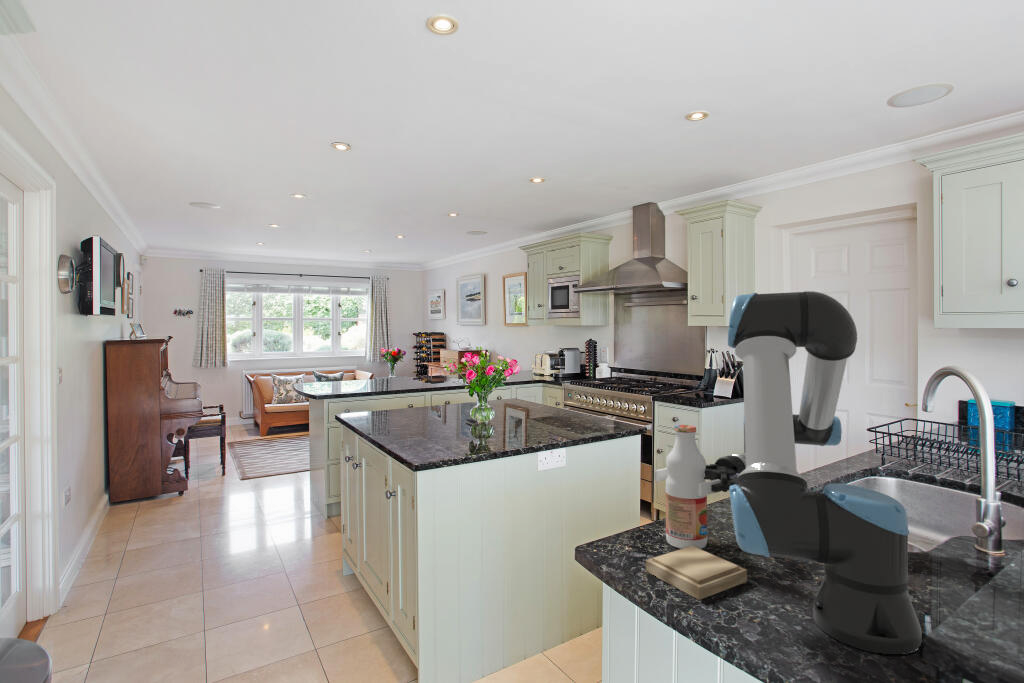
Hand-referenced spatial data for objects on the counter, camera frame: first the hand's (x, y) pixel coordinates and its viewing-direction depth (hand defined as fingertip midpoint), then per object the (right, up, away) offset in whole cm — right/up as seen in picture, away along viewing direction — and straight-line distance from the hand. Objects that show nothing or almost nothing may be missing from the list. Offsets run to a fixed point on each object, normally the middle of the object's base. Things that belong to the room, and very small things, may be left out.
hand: (676, 482), depth 124 cm
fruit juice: (+3, -15, +2) cm, 16 cm away
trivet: (-1, -15, -15) cm, 22 cm away
